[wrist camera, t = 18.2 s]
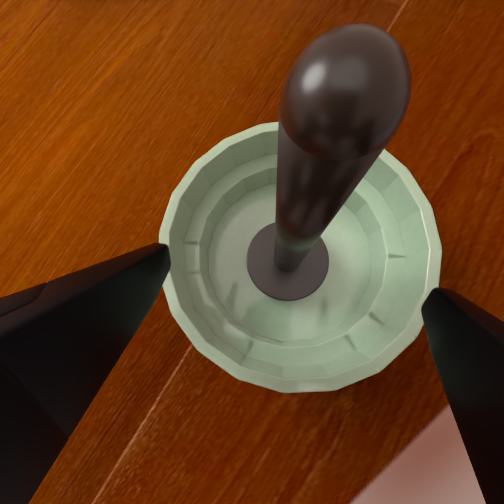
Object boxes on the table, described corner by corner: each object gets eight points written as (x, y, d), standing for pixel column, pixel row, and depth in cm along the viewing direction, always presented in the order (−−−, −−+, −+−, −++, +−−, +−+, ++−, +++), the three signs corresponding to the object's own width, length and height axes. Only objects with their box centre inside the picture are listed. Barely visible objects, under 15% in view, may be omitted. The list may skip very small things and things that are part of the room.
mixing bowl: (374, 392, 15) (424, 436, 10) (165, 331, 17) (120, 344, 12) (403, 186, 17) (454, 141, 12) (219, 154, 19) (201, 104, 14)
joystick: (261, 310, 16) (181, 376, 2) (240, 241, 17) (92, -40, 3) (333, 288, 16) (812, 180, 2) (307, 220, 17) (478, -175, 3)
